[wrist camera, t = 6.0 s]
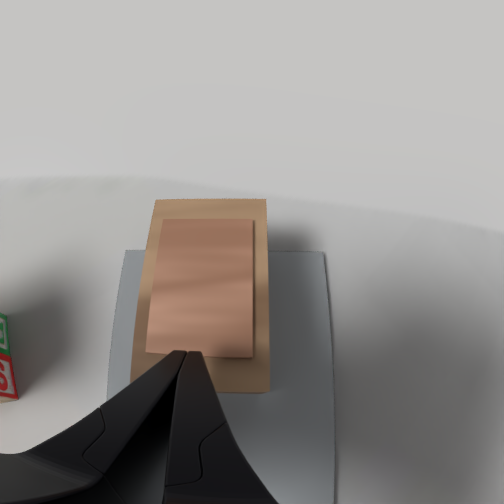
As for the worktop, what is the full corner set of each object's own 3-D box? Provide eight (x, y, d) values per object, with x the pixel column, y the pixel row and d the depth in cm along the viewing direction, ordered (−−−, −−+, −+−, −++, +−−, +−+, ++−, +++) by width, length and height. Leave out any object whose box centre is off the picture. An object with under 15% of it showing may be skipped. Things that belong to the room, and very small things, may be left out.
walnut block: (270, 391, 9) (266, 196, 13) (127, 382, 9) (154, 197, 13) (262, 393, 14) (261, 252, 18) (164, 389, 14) (176, 251, 18)
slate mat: (326, 567, 9) (328, 571, 8) (118, 555, 9) (116, 558, 8) (321, 255, 18) (322, 251, 18) (128, 253, 18) (125, 250, 18)
